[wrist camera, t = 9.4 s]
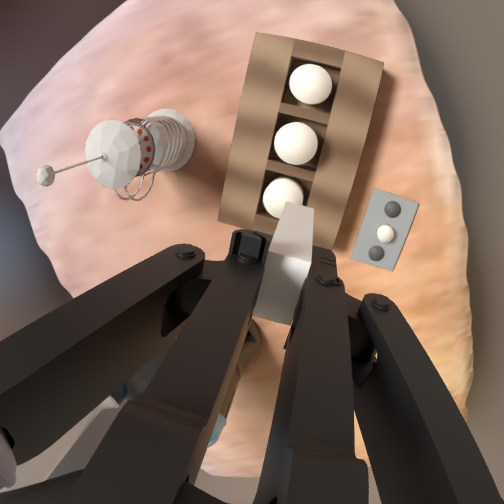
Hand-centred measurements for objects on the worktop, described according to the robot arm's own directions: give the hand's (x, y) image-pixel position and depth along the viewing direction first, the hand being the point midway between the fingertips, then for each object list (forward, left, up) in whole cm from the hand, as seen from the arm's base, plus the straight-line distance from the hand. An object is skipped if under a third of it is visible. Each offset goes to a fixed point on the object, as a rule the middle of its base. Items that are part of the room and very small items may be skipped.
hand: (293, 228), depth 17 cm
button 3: (+10, +2, -26) cm, 28 cm away
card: (-7, -13, -28) cm, 31 cm away
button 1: (-5, +2, -26) cm, 27 cm away
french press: (-3, +21, -28) cm, 35 cm away
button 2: (+2, +2, -25) cm, 25 cm away
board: (+2, +2, -28) cm, 28 cm away
